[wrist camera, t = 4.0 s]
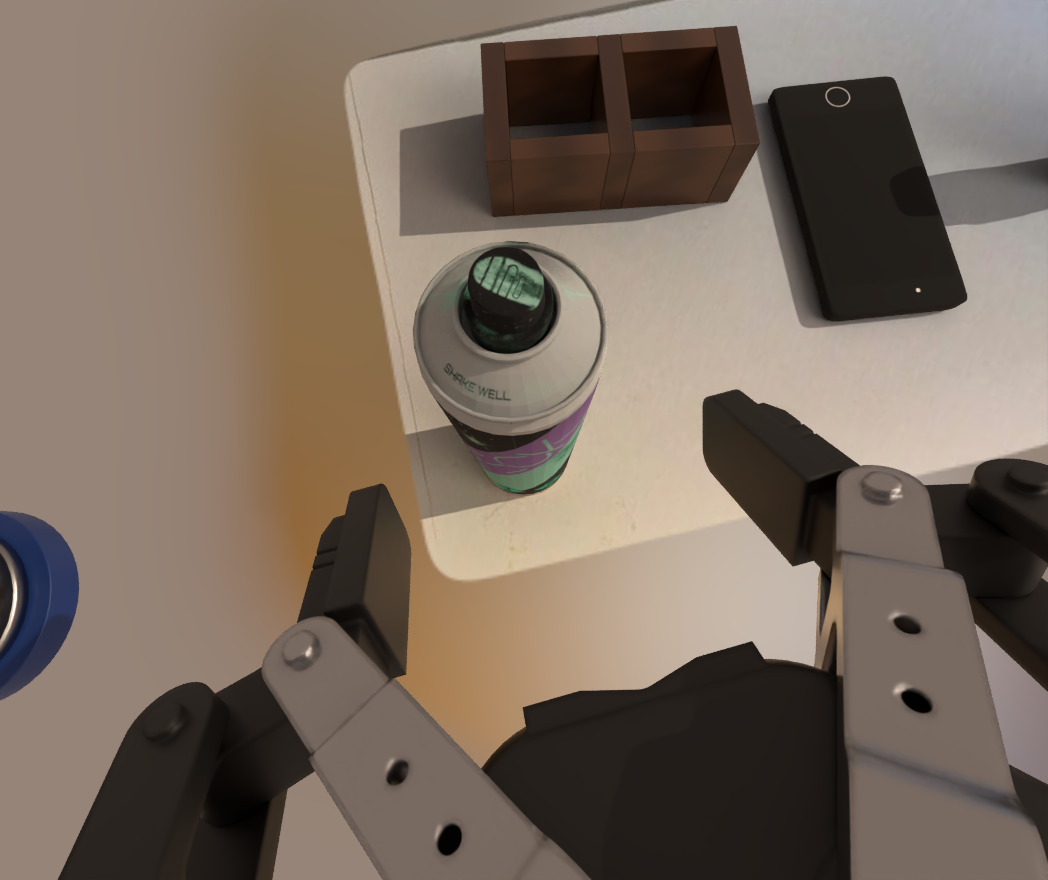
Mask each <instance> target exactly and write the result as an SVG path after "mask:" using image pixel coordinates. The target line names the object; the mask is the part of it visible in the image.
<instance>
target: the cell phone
mask: <svg viewBox="0 0 1048 880" xmlns="http://www.w3.org/2000/svg"><path fill="white" fill-rule="evenodd" d="M768 104H769V107H770V109H771V113H772V117H773V121H774V125H775V128H776V132H777V136H778V140H779V144H780V148H781V151H782V155H783V159H784V163H785V167H786V171H787V174H788V178H789V182H790V186H791V190H792V194H793V197H794V201H795V205H796V209H797V213H798V217H799V220H800V224H801V228H802V232H803V236H804V240H805V243H806V247H807V251H808V255H809V259H810V263H811V266H812V270H813V274H814V278H815V282H816V286H817V289H818V293H819V297H820V301H821V306H822V310H823V315H824V317H825V318H826V319H827V320H830V321H845V320H855V319H864V318H874V317H883V316H893V315H903V314H912V313H922V312H931V311H941V310H948V309H952V308H955V307H957V306H959V305H960V304H962V303H964V302H965V301H966V300H967V293H966V290H965V286H964V283H963V280H962V277H961V274H960V271H959V268H958V265H957V262H956V259H955V256H954V253H953V250H952V247H951V244H950V241H949V238H948V235H947V232H946V229H945V226H944V223H943V220H942V217H941V214H940V211H939V208H938V205H937V202H936V199H935V196H934V193H933V190H932V187H931V184H930V181H929V178H928V175H927V172H926V169H925V166H924V164H923V161H922V158H921V155H920V152H919V149H918V146H917V143H916V140H915V137H914V134H913V131H912V128H911V125H910V122H909V119H908V116H907V113H906V110H905V107H904V104H903V101H902V98H901V95H900V92H899V89H898V86H897V84H896V81H895V80H894V78H892V77H875V78H865V79H856V80H846V81H837V82H827V83H818V84H808V85H799V86H789V87H782V88H777V89H775V90H773V92H772V94H771V96H770V98H769V99H768Z"/></svg>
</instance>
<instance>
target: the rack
mask: <svg viewBox="0 0 1048 880" xmlns="http://www.w3.org/2000/svg"><path fill="white" fill-rule="evenodd" d="M481 64H482V85H483V107H484V128H485V150H486V165H487V173H488V181H489V188H490V196H491V204H492V212H493V216H494V217H496V216H511V215H527V214H543V213H558V212H573V211H588V210H599V209H600V210H602V209H618V208H633V207H648V206H664V205H679V204H694V203H706V202H707V203H711V202H726V201H728V200H729V198H730V196H731V194H732V193H733V191H734V189H735V187H736V185H737V184H738V182H739V180H740V178H741V176H742V175H743V173H744V171H745V169H746V167H747V166H748V164H749V162H750V160H751V158H752V157H753V155H754V153H755V151H756V149H757V148H758V146H759V144H760V141H759V136H758V131H757V126H756V121H755V115H754V110H753V105H752V100H751V95H750V90H749V85H748V80H747V75H746V69H745V64H744V59H743V54H742V49H741V44H740V39H739V34H738V29H737V26H728V27H714V28H701V29H686V30H672V31H657V32H643V33H628V34H621V35H620V34H614V35H600V36H597V37H596V36H588V37H573V38H559V39H544V40H530V41H515V42H505V43H503V42H498V43H484V44H481ZM691 114H692V115H693V121H694V127H690V128H675V129H660V130H645V131H633V133H632V125H631V119H632V118H646V117H661V116H676V115H691ZM585 121H590V122H591V132H592V134H584V135H569V136H554V137H539V138H524V139H510V135H509V126H510V127H511V126H526V125H540V124H555V123H570V122H585Z"/></svg>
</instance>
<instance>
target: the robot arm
mask: <svg viewBox="0 0 1048 880" xmlns="http://www.w3.org/2000/svg"><path fill="white" fill-rule="evenodd" d="M703 455H704V459H705V462H706V464H707V467H708V469H709V470H710V472H711V473H712V474H713V476H714V477H715V478H716V479H717V480H718V481H719V482H720V484H721V485H722V486H723V487H724V488H725V489H726V490H727V492H728V493H729V494H730V495H731V496H732V497H733V498H734V500H735V501H736V502H737V503H738V504H739V505H740V507H741V508H742V509H743V510H744V511H745V512H746V513H747V515H748V516H749V517H750V518H751V519H752V520H753V521H754V523H756V525H757V526H758V527H759V528H760V529H761V531H762V532H763V533H764V534H765V535H766V536H767V537H768V539H769V540H770V541H771V542H772V543H773V544H774V545H775V547H776V548H777V549H778V550H779V551H780V552H781V554H782V555H783V556H784V557H785V558H786V559H787V560H788V561H789V563H790V564H791V565H792V566H796V565H800V564H803V563H807V562H810V561H815V563H816V564H817V565H818V566H819V567H820V572H819V578H818V601H817V631H816V653H815V663H814V667H812V666H809V665H806V664H802V663H797V662H792V661H787V660H776V659H763V657H762V655H761V654H760V653H759V651H758V649H757V648H756V646H755V645H754V643H753V642H752V641H751V642H748V643H745V644H741V645H737V646H734V647H731V648H727V649H724V650H720V651H717V652H713V653H710V654H706V655H703V656H699V657H696V658H695V659H693V660H691V661H690V662H688V663H687V664H685V665H683V666H682V667H680V668H678V669H677V670H675V671H674V672H672V673H671V674H669V675H667V676H666V677H664V678H662V679H661V680H659V681H658V682H656V683H655V684H653V685H651V686H649V687H648V688H645V689H640V690H600V691H578V692H574V693H571V694H567V695H564V696H561V697H557V698H554V699H550V700H547V701H543V702H540V703H536V704H533V705H530V706H526V707H523V712H524V718H525V724H526V727H524V728H523V729H521V730H520V731H518V732H517V733H515V734H514V735H513V736H512V737H510V738H509V739H508V740H507V741H505V742H504V743H503V744H502V745H501V746H500V747H499V748H498V749H497V750H496V751H495V752H494V753H493V754H492V755H491V757H490V758H489V759H488V761H487V762H486V763H485V764H484V766H483V767H482V768H480V767H479V766H478V765H477V764H476V763H475V762H474V761H473V760H472V759H471V758H470V757H469V756H468V755H467V754H466V753H465V752H464V751H463V749H462V748H460V746H459V745H458V744H457V743H456V742H455V741H454V740H453V739H452V738H451V737H450V736H449V735H448V734H447V733H446V732H445V730H444V729H442V727H441V726H440V725H439V724H438V723H437V722H436V721H435V720H434V719H433V718H432V717H431V716H430V715H429V714H428V713H427V712H426V710H425V709H424V708H423V707H422V706H421V705H420V704H419V703H418V702H417V701H416V700H415V699H414V698H413V697H412V696H411V695H410V694H409V693H408V691H407V690H406V689H404V687H403V686H402V685H401V684H400V683H399V682H398V681H397V680H395V679H394V678H396V677H399V676H403V675H406V664H407V641H408V617H409V593H410V569H411V547H410V541H409V537H408V535H407V531H406V528H405V526H404V524H403V522H402V520H401V518H400V516H399V513H398V511H397V509H396V507H395V505H394V502H393V500H392V498H391V496H390V494H389V492H388V490H387V488H386V486H385V485H384V484H378V485H375V486H371V487H367V488H364V489H360V490H356V491H352V492H351V493H350V496H349V501H348V505H347V509H346V513H345V515H343V516H339V517H336V518H334V519H333V520H332V521H331V523H330V524H329V526H328V527H327V528H326V530H325V531H324V532H323V534H322V535H321V538H320V542H319V546H318V549H317V556H316V557H315V560H314V564H313V570H312V571H311V574H310V578H309V581H308V585H307V589H306V592H305V596H304V600H303V603H302V607H301V610H300V614H299V617H298V621H297V624H295V625H293V626H292V627H290V628H289V629H287V630H286V631H285V632H284V633H282V634H281V635H280V636H279V637H278V638H277V639H276V640H275V642H274V643H273V644H272V645H271V647H270V648H269V650H268V652H267V653H266V655H265V658H264V660H263V664H262V667H261V668H260V669H258V670H256V671H255V672H253V673H251V674H250V675H248V676H246V677H244V678H242V679H241V680H239V681H237V682H235V683H233V684H232V685H230V686H228V687H226V688H224V689H223V690H221V691H219V692H217V693H214V692H213V691H212V690H211V689H210V688H209V687H208V686H207V685H206V684H203V683H200V682H191V683H186V684H183V685H180V686H178V687H175V688H173V689H172V690H170V691H168V692H166V693H165V694H163V695H162V696H160V697H159V698H157V699H156V700H155V701H154V702H153V703H151V704H150V705H149V706H148V707H147V708H146V709H145V710H144V711H143V712H142V713H141V714H140V715H139V716H138V717H137V719H136V720H135V721H134V722H133V724H132V725H131V727H130V728H129V730H128V731H127V733H126V735H125V737H124V739H123V741H122V743H121V745H120V747H119V750H118V752H117V754H116V756H115V758H114V760H113V762H112V765H111V767H110V769H109V771H108V773H107V775H106V777H105V780H104V782H103V784H102V786H101V788H100V790H99V793H98V795H97V797H96V799H95V801H94V803H93V805H92V808H91V810H90V812H89V814H88V816H87V818H86V820H85V823H84V825H83V827H82V829H81V831H80V833H79V835H78V837H77V840H76V842H75V844H74V846H73V848H72V851H71V853H70V855H69V857H68V859H67V861H66V864H65V865H64V868H63V870H62V872H61V874H60V876H59V878H58V880H272V877H273V872H274V866H275V860H276V854H277V848H278V842H279V836H280V830H281V824H282V818H283V813H284V807H285V800H286V795H287V789H288V788H289V787H291V786H293V785H294V784H296V783H297V782H299V781H300V780H302V779H303V778H305V777H306V776H308V775H310V774H311V773H313V772H314V771H316V773H317V775H318V776H319V778H320V780H321V781H322V783H323V785H324V786H325V787H326V789H327V791H328V792H329V794H330V796H331V797H332V799H333V801H334V802H335V804H336V805H337V807H338V809H339V810H340V812H341V813H342V815H343V817H344V818H345V820H346V821H347V823H348V825H349V826H350V828H351V830H352V831H353V833H354V834H355V836H356V837H357V839H358V841H359V842H360V844H361V846H362V847H363V849H364V850H365V852H366V854H367V855H368V857H369V858H370V860H371V862H372V863H373V865H374V866H375V868H376V869H377V871H378V873H379V874H380V876H381V878H382V879H383V880H1048V784H1046V783H1044V782H1042V781H1040V780H1038V779H1036V778H1034V777H1032V776H1030V775H1028V774H1026V773H1025V772H1022V771H1021V770H1019V769H1017V768H1015V767H1013V766H1011V765H1009V764H1008V761H1007V756H1006V752H1005V748H1004V744H1003V740H1002V735H1001V731H1000V727H999V723H998V719H997V715H996V710H995V706H994V702H993V698H992V694H991V690H990V686H989V681H988V677H987V673H986V669H985V665H984V660H983V656H982V652H981V648H980V644H979V639H978V635H977V631H976V627H975V624H977V625H978V626H979V627H980V628H981V629H982V630H983V631H984V632H985V633H986V634H987V635H988V636H989V637H990V638H991V639H993V641H994V642H996V643H997V644H998V645H999V646H1000V647H1001V648H1002V649H1003V650H1004V651H1005V652H1006V653H1007V654H1008V655H1009V656H1010V657H1011V658H1013V659H1014V660H1015V661H1016V662H1017V663H1018V664H1019V665H1020V666H1021V667H1022V668H1023V669H1024V670H1025V671H1026V672H1027V673H1029V674H1030V675H1031V676H1032V677H1033V678H1034V679H1035V680H1036V681H1037V682H1038V683H1039V684H1040V685H1041V686H1042V687H1043V688H1044V689H1045V690H1047V691H1048V582H1046V581H1045V580H1044V579H1042V576H1043V574H1044V572H1045V570H1046V569H1047V567H1048V465H1045V464H1042V463H1038V462H1033V461H1028V460H1021V459H995V460H990V461H986V462H984V463H982V464H980V465H979V466H978V467H977V468H976V470H975V472H974V474H973V477H972V479H971V482H970V484H948V485H924V484H922V483H921V482H920V481H919V480H918V479H916V478H915V477H913V476H911V475H910V474H908V473H905V472H903V471H900V470H897V469H894V468H890V467H885V466H877V465H863V466H860V465H858V464H857V463H856V462H854V461H853V460H852V459H850V458H849V457H848V456H846V455H845V454H844V453H842V452H841V451H839V450H838V449H837V448H835V447H834V446H833V445H831V444H830V443H829V442H827V441H826V440H824V439H823V438H822V437H820V436H819V435H818V434H814V433H813V431H812V430H811V429H809V428H808V427H807V426H805V425H804V424H802V425H801V423H800V421H799V420H797V419H796V418H795V417H793V416H792V415H790V414H789V413H788V412H786V411H785V410H782V409H779V408H777V407H774V406H771V405H768V404H765V403H761V404H757V403H756V402H754V401H753V400H752V399H750V398H749V397H748V396H747V395H745V394H744V393H743V392H741V391H740V390H737V389H735V390H731V391H727V392H724V393H720V394H716V395H713V396H709V397H706V398H705V399H704V401H703ZM28 598H29V586H28V578H27V573H26V570H25V567H24V564H23V562H22V560H21V558H20V557H19V555H18V554H17V552H16V551H15V550H14V549H13V547H12V546H11V545H10V544H8V543H7V542H6V541H5V540H3V539H1V538H0V660H1V659H2V658H3V657H4V655H5V654H6V653H7V652H8V650H9V649H10V647H11V646H12V644H13V643H14V641H15V639H16V638H17V636H18V633H19V631H20V629H21V627H22V624H23V622H24V618H25V615H26V611H27V606H28Z"/></svg>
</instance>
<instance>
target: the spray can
mask: <svg viewBox="0 0 1048 880" xmlns="http://www.w3.org/2000/svg"><path fill="white" fill-rule="evenodd" d="M607 330H608V324H607V318H606V312H605V307H604V304H603V302H602V299H601V297H600V294H599V292H598V290H597V288H596V287H595V285H594V284H593V282H592V281H591V279H590V278H589V276H588V275H587V274H586V273H585V272H584V271H583V270H582V269H581V268H580V267H579V266H578V265H577V264H576V263H574V262H573V261H571V260H570V259H568V258H567V257H566V256H564V255H563V254H561V253H559V252H556V251H554V250H552V249H550V248H547V247H545V246H541V245H537V244H533V243H528V242H515V241H506V242H498V243H490V244H487V245H483V246H480V247H477V248H473V249H471V250H469V251H467V252H465V253H463V254H461V255H459V256H457V257H456V258H455V259H453V260H452V261H451V262H449V263H448V264H447V265H445V266H444V267H443V268H442V269H441V270H440V271H439V272H438V273H437V274H436V275H435V277H434V278H433V279H432V280H431V281H430V283H429V284H428V286H427V288H426V289H425V291H424V293H423V294H422V296H421V299H420V301H419V304H418V307H417V310H416V312H415V319H414V326H413V338H414V349H415V352H416V356H417V360H418V364H419V367H420V371H421V374H422V377H423V379H424V381H425V383H426V385H427V386H428V388H429V390H430V392H431V394H432V395H433V397H434V398H435V399H436V401H437V402H438V404H439V405H440V407H441V408H442V410H443V411H444V413H445V414H446V416H447V417H448V419H449V420H450V422H451V423H452V424H453V426H454V427H455V429H456V430H457V432H458V433H459V435H460V436H461V438H462V439H463V441H464V442H465V444H466V445H467V447H468V448H469V449H470V451H471V452H472V454H473V455H474V457H475V458H476V460H477V461H478V463H479V464H480V466H481V467H482V469H483V470H484V472H485V473H486V474H487V476H488V477H489V478H490V480H491V481H492V482H493V483H494V484H495V485H497V486H498V487H499V488H501V489H502V490H504V491H506V492H508V493H512V494H515V495H525V496H526V495H534V494H537V493H540V492H543V491H544V490H546V489H548V488H550V487H551V486H552V485H553V484H554V483H556V482H557V480H558V479H559V478H560V477H561V475H562V474H563V472H564V470H565V468H566V465H567V463H568V460H569V458H570V455H571V452H572V450H573V447H574V444H575V442H576V439H577V437H578V434H579V431H580V429H581V426H582V423H583V421H584V418H585V416H586V413H587V410H588V408H589V405H590V402H591V400H592V397H593V395H594V392H595V389H596V387H597V384H598V381H599V379H600V376H601V374H602V370H603V366H604V363H605V359H606V355H607Z"/></svg>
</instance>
